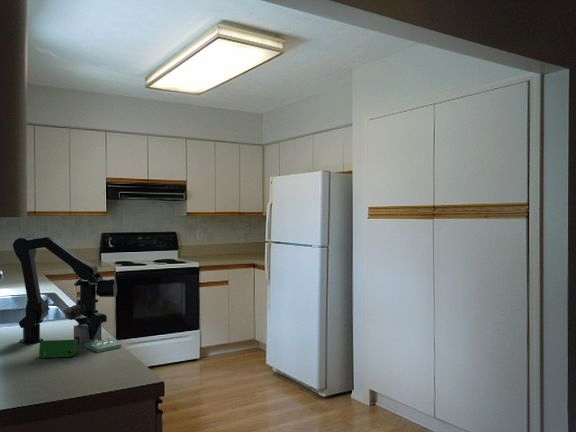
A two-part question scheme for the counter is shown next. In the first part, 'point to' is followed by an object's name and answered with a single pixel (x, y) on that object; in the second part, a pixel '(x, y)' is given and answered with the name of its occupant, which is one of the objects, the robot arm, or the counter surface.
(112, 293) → the robot arm
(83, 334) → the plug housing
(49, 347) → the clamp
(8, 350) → the counter surface
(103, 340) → the pin board
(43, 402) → the counter surface
